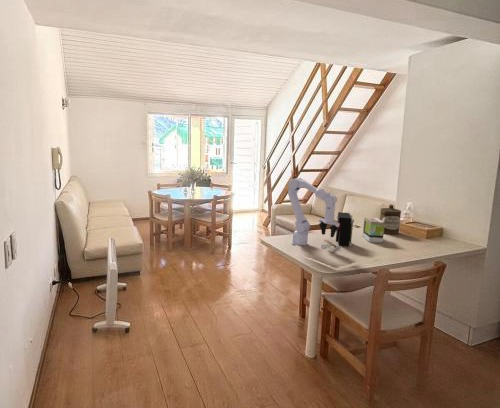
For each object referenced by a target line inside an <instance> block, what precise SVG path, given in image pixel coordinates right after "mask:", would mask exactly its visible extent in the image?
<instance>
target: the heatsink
mask: <svg viewBox="0 0 500 408" xmlns="http://www.w3.org/2000/svg"><path fill="white" fill-rule="evenodd" d="M327 246H332V245H330V244H328V243H325V244H321V245H320V248H322V249H324V248H325V249H326V248H327ZM336 246H337V247H334V252H337V251H341V250H342V246H339V245H336Z"/></svg>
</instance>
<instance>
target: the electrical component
mask: <svg viewBox="0 0 500 408" xmlns="http://www.w3.org/2000/svg"><path fill="white" fill-rule="evenodd" d="M336 221H337V222H336V223H339V227H338V229H337V230H336V232H335V242H336V243H338V246H340V247H352V246H353V243H352V238H353V227H354V226H353V225H354V222H355V220H354V218H353V214H351V213H350V212H341V211H339V212H337V220H336Z"/></svg>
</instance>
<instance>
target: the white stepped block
mask: <svg viewBox="0 0 500 408" xmlns="http://www.w3.org/2000/svg"><path fill="white" fill-rule="evenodd" d="M326 248H327V249H328V252H330V253H333V252H335V250H334V246H327V247H326Z"/></svg>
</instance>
